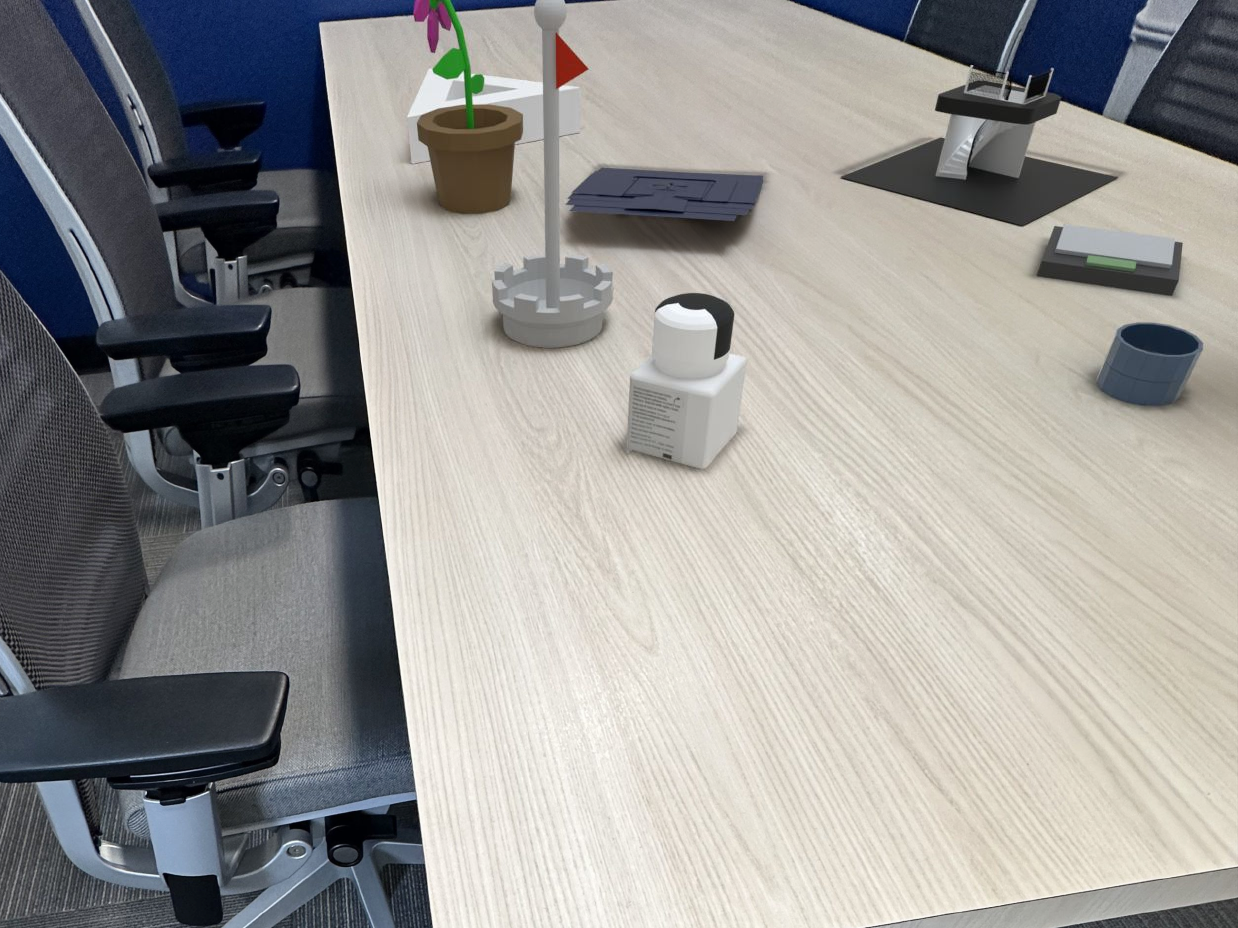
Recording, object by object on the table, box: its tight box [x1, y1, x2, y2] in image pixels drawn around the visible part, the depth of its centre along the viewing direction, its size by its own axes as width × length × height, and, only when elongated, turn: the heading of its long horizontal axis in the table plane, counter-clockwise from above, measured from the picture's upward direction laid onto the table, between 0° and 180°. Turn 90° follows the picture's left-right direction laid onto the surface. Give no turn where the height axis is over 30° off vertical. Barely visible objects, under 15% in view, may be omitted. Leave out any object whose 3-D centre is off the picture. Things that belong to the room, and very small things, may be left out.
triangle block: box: [406, 67, 582, 165], centre depth 155 cm, size 30×26×6 cm
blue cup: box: [1095, 321, 1204, 407], centre depth 90 cm, size 7×7×5 cm
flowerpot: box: [412, 0, 523, 214], centre depth 125 cm, size 14×14×30 cm
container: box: [625, 292, 748, 470], centre depth 83 cm, size 8×8×13 cm
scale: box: [1036, 223, 1184, 297], centre depth 111 cm, size 14×12×3 cm
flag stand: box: [491, 0, 614, 349], centre depth 95 cm, size 13×13×30 cm
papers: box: [565, 166, 764, 222], centre depth 130 cm, size 24×30×4 cm
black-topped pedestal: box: [840, 64, 1119, 226], centre depth 132 cm, size 28×26×13 cm
